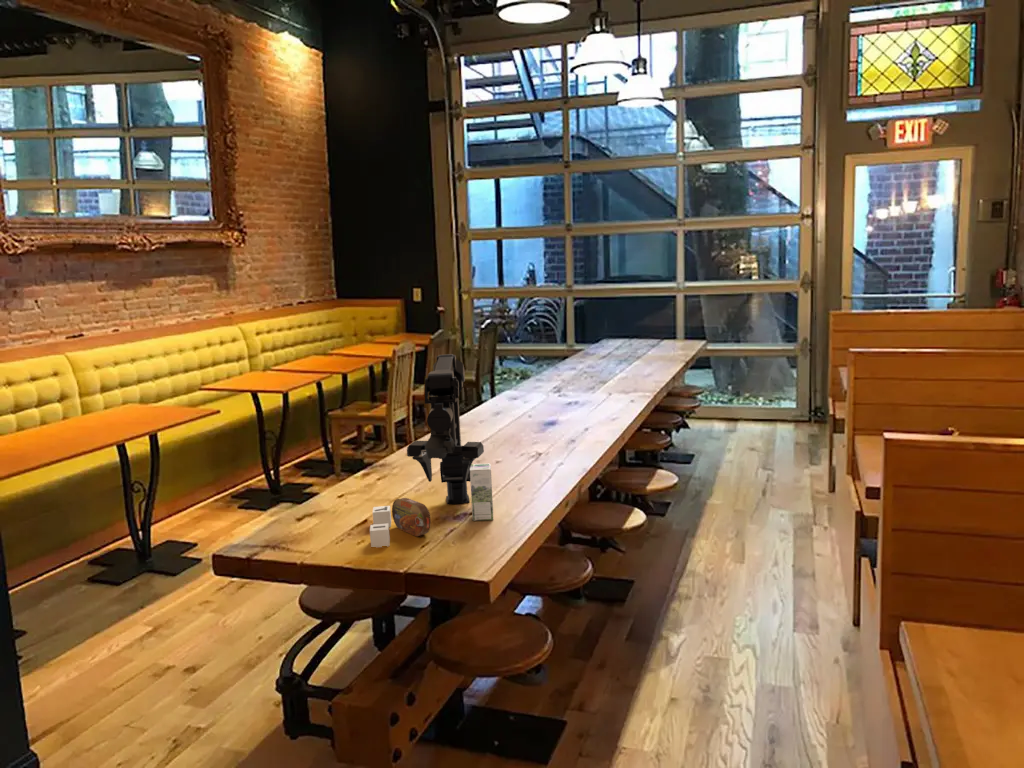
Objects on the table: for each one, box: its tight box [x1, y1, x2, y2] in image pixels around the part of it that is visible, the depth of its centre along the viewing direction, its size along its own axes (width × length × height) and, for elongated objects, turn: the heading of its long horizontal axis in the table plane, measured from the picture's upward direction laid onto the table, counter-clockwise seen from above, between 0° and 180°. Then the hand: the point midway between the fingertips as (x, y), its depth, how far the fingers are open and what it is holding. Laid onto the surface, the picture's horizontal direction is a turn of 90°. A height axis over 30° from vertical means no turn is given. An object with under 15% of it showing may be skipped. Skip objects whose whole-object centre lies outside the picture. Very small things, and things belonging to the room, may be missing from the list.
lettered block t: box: [372, 505, 392, 528], centre depth 222 cm, size 4×4×5 cm
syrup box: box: [470, 462, 494, 522], centre depth 223 cm, size 6×6×14 cm
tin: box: [391, 497, 432, 537], centre depth 216 cm, size 15×3×8 cm, turn 40°
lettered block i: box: [369, 523, 391, 548], centre depth 208 cm, size 4×4×5 cm
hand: (447, 481), depth 210 cm, fingers open, 9 cm apart
